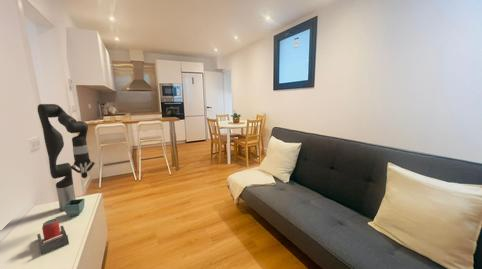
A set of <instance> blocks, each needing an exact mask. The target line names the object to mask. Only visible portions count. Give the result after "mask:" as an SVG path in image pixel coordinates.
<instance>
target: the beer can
mask: <svg viewBox="0 0 482 269" xmlns="http://www.w3.org/2000/svg"><path fill="white" fill-rule="evenodd" d="M41 230H42V234H43V239H44V240H43V241H46V240H49V239H51V238H54V237H57V236H59V235H62V232H61V228H60V223H59V221H58V219H56V218H54V219H50V220H49V219H48V220H47V221H45V222H44V223H42V228H41Z"/></svg>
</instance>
